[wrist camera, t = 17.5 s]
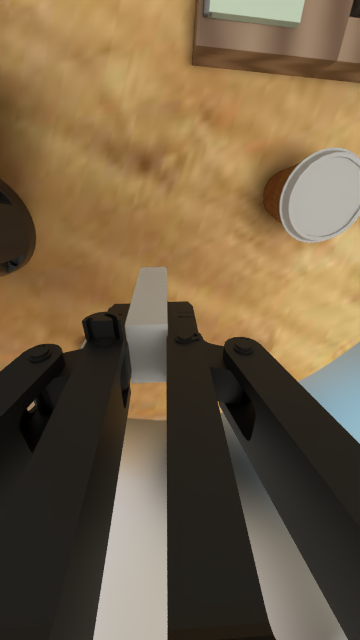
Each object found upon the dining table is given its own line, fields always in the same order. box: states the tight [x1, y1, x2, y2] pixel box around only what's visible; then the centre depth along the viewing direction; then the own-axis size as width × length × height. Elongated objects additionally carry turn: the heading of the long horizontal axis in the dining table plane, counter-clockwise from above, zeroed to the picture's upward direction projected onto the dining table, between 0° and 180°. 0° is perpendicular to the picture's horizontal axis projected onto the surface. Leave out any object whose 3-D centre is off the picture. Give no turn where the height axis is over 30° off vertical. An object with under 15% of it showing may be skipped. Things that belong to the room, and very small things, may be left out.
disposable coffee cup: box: [263, 147, 360, 243], centre depth 32 cm, size 10×10×12 cm
